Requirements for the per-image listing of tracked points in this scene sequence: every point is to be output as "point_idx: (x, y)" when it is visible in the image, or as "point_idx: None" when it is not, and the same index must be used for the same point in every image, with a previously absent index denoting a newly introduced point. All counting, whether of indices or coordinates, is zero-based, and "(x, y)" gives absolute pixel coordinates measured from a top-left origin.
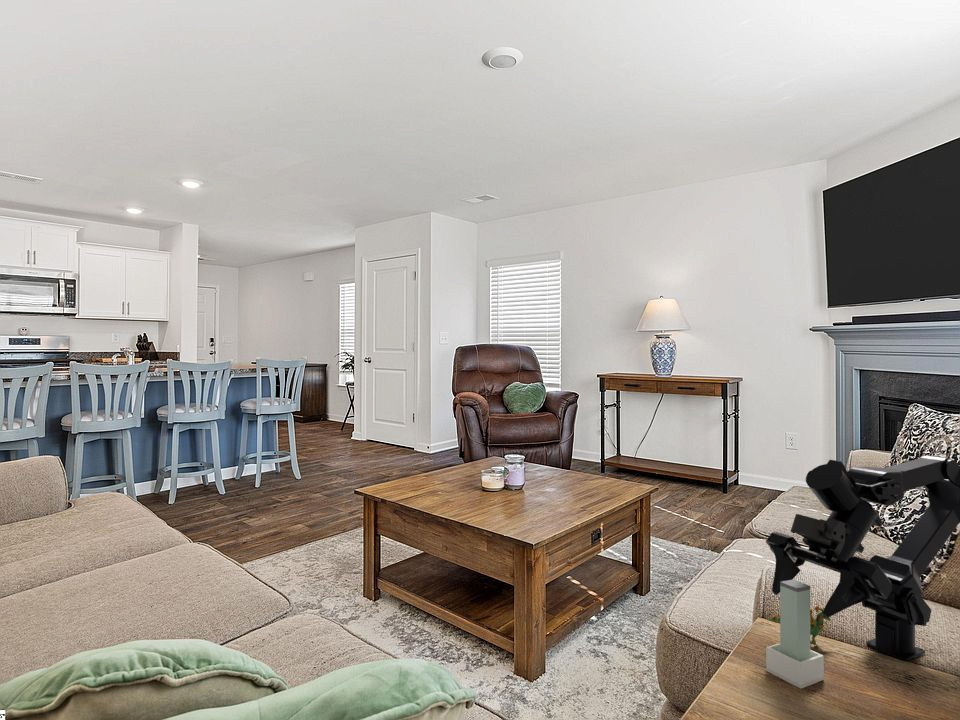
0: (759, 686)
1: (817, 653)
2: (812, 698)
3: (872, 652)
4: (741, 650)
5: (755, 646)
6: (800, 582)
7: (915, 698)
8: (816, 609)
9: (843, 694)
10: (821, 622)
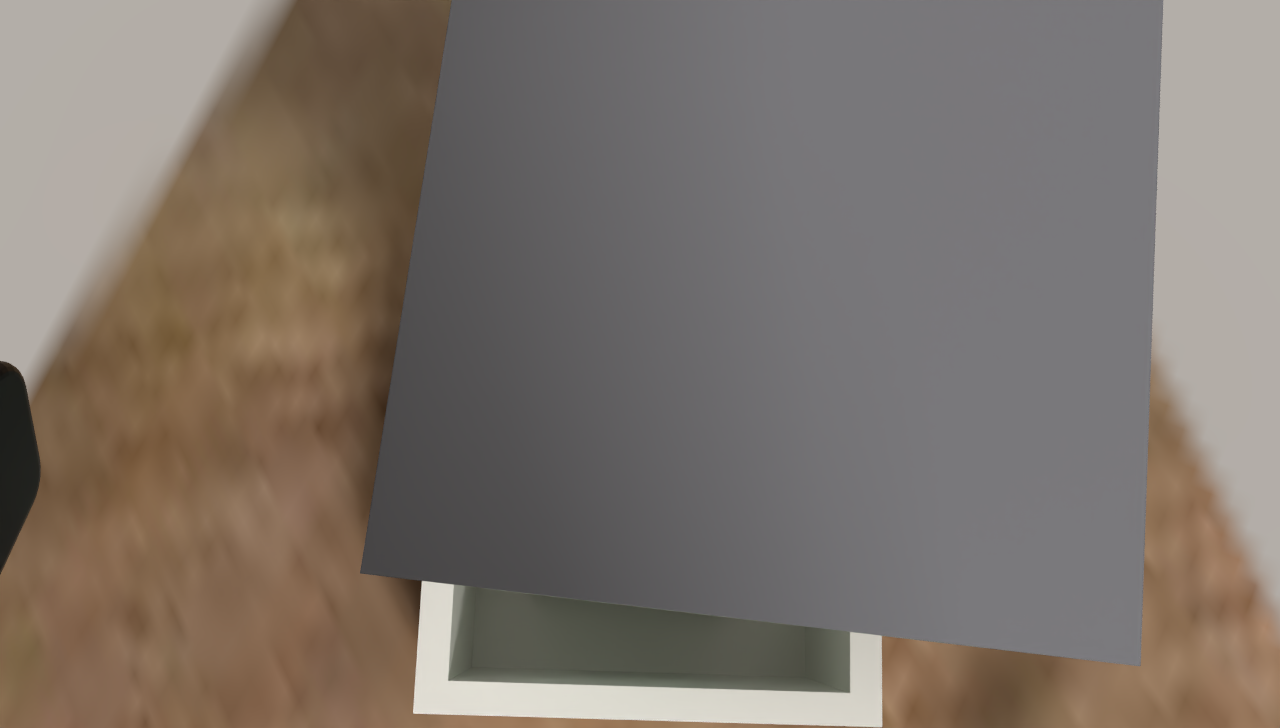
0: None
1: (482, 697)
2: (331, 267)
3: None
4: (1212, 491)
5: (1218, 717)
6: (788, 600)
7: None
8: None
9: (209, 597)
10: None
